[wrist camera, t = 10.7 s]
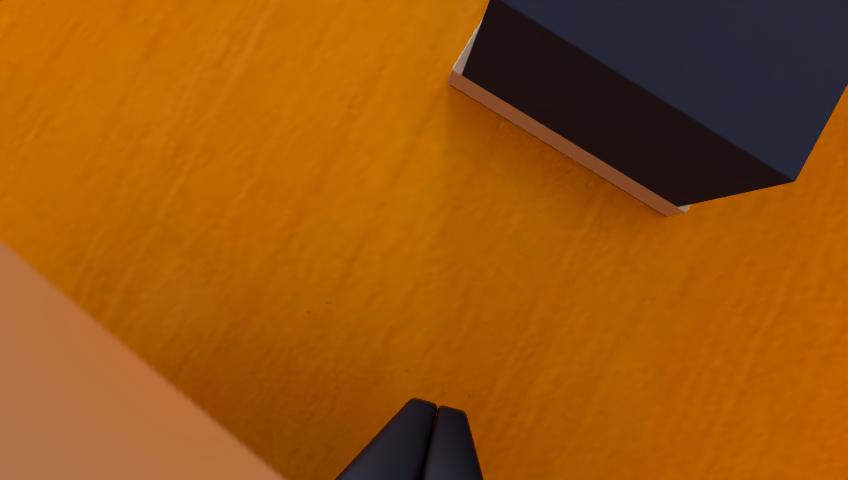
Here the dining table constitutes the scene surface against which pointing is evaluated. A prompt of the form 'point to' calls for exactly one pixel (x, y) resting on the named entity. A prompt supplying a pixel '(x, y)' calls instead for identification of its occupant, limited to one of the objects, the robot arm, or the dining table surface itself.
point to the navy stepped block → (665, 87)
